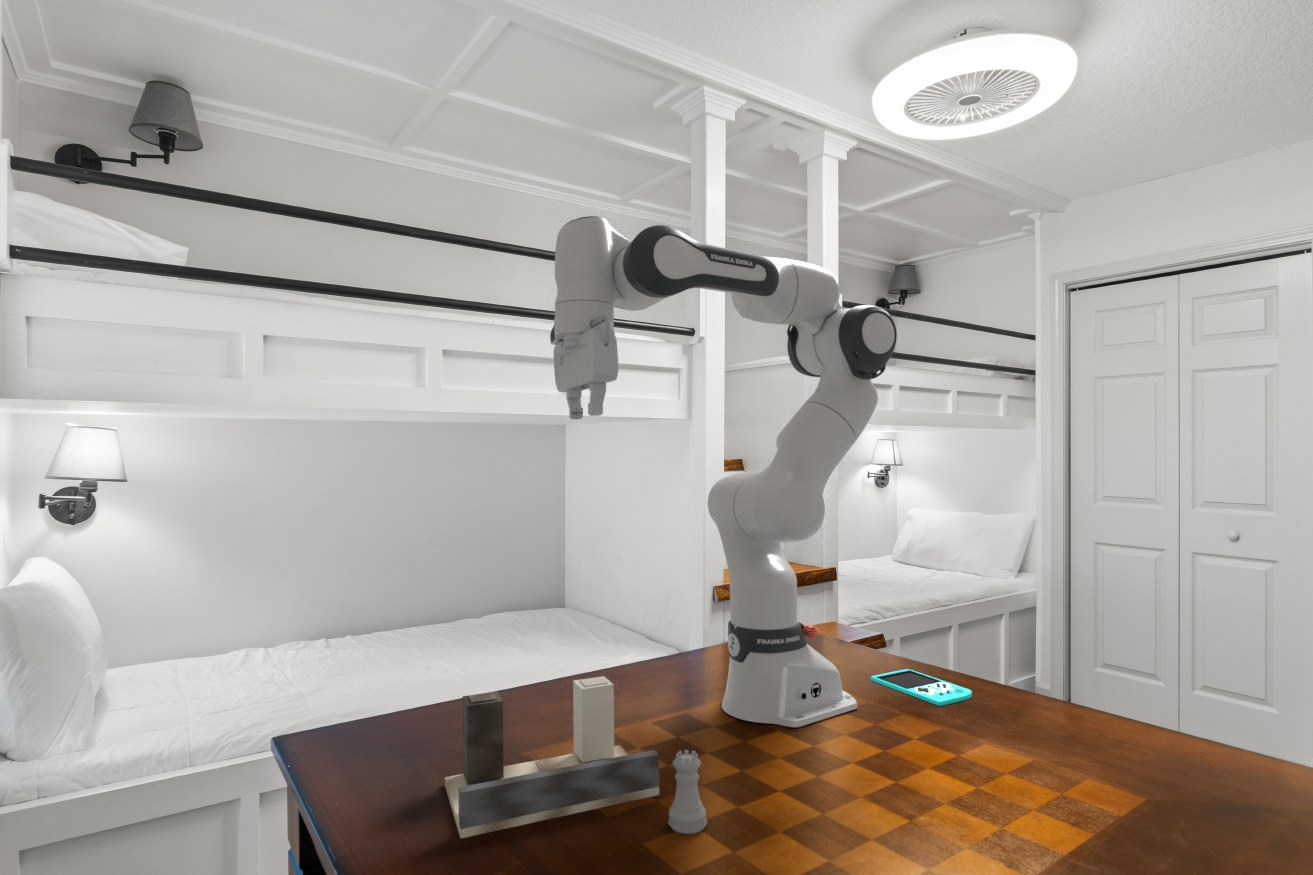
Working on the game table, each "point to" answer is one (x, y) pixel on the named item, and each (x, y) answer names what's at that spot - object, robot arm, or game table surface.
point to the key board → (551, 790)
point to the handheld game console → (923, 687)
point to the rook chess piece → (687, 796)
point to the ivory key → (593, 718)
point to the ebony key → (482, 737)
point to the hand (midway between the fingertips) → (585, 417)
